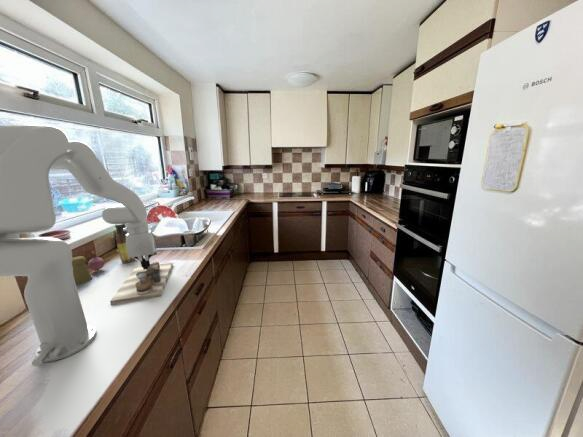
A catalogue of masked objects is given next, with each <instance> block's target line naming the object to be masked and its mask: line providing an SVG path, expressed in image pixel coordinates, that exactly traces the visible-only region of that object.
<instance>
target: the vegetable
mask: <svg viewBox="0 0 583 437" xmlns="http://www.w3.org/2000/svg"><path fill="white" fill-rule="evenodd" d="M91 253H92V255H93V258H91V259H90V260H89V261H88V262H87V268H88V269H90V270H92V271H95V272H98V271H100V270H101V269H102V268H103V267H105V260H104V259H103V258H102V257H100V256H99V257H98V256H97V253H96V252H95V251H93V250H92V251H91Z"/></svg>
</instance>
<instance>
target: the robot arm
mask: <svg viewBox="0 0 583 437" xmlns="http://www.w3.org/2000/svg"><path fill="white" fill-rule="evenodd" d="M67 135H68V134H66V133H65V131H63V130H62V129H61V128H60V127H56V126H53V125H47V124H20V125H19V124H17V125H16V124H11V125H10V124H8V125H7V124H5V125H3V124H1V125H0V277H27V282H26V284H25V288H24V292H23V296H24V300H25V303H26V305H27V308H28V311H29V314H30V317H31V320H32V323H33V326H34V328H35V331H36V334H37V338H38V340H39V342H40V344H39V345H38V347H37V349H36V350H35V351H34V352H35V353H34V355H35V358H34V359H33V360H32V361H31V365H32V366H33V367H40V366H41V365H42V364H43V363H46V362H47V363H49V362H50V363H51V362H54V361H59V360H62V359H64V358H68V357H70V356H72V355H75V354H76V353H78V352H79V351H81V350H83V349H84V348H86V347H87V346H89V344H91V343H92V341H93V340H94V339H95V337H96V336H97V329H96V327H95V326H93V325H89V324H88V323H87V319H86V316H85V313H84V309H83V305H82V303H81V298H80V294H79V291H78V288H77V284H75V280H74V276H73V266H72V258H73V250H72V247H71V246H70V245H69V243H67V242H66V241H64V240H62V239H60V238H56V237H49V236H48V237H47V236H43V237H41V236H40V237H21V236H20V234H35V233H36V234H37V233H42V232H47V231H48V230H50V229H52V228H53V227H54V226H55V224H56V219H57V215H56V210H55V205H54V200H53V196H52V191H51V187H50V177H49V176H50V170H67V171H68V172H69V173H70V174H71V175H72V177H73V178H74V179H75V180H76V182H78V183H79V185H80V186H81V187H82V188H83V190H84V191H85V192H86V193H88V194H90V195H93V196H96V197H100V198H103V199H107V200H110V201H114V202H116V203H117V204H110V205H108V206H106V207H105V208H104V209H103V210H102V212H101V217H102V220H103V221H104V222H105V223H107V224H110V225H116V224H125V228H123V231H126V232H127V233H128V234H126V247H127V253H128V256H129V258H135V260H137V261H139V263H140V265H141V266H140V267H143V270H145V269H148V267H149V265H150V264H151V262H150V259H151V258H152V257H154V256H157V254H158V251H157V246H156V241H155V239H154V236H153V233H152V231H151V230H149V225H148V224H149V223H148V220H147V217H148V216H147V215H148V213H147V208H146V206H145V204H144V202H143V201H142V200H141V198H140V197H139V195H138V194H137V193H136V192H135V191H133V190H132V189H131V188H128V187H127V186H125V185H124V184H122V183H120V182H118V181H117V180H114V179H113V177H112V176H111V175H110V174H109V172H108V170H107V169H106V167H105V166H104V165H103V163H102V162H101V160H100V158H99V157H98V156H97V154H96V153H95V151H94V150H93V149H92V147H91V146H90V145H88V144H87V143H86V142H83V141H81V140H79V141H78V140H69V138H68V136H67Z"/></svg>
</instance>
